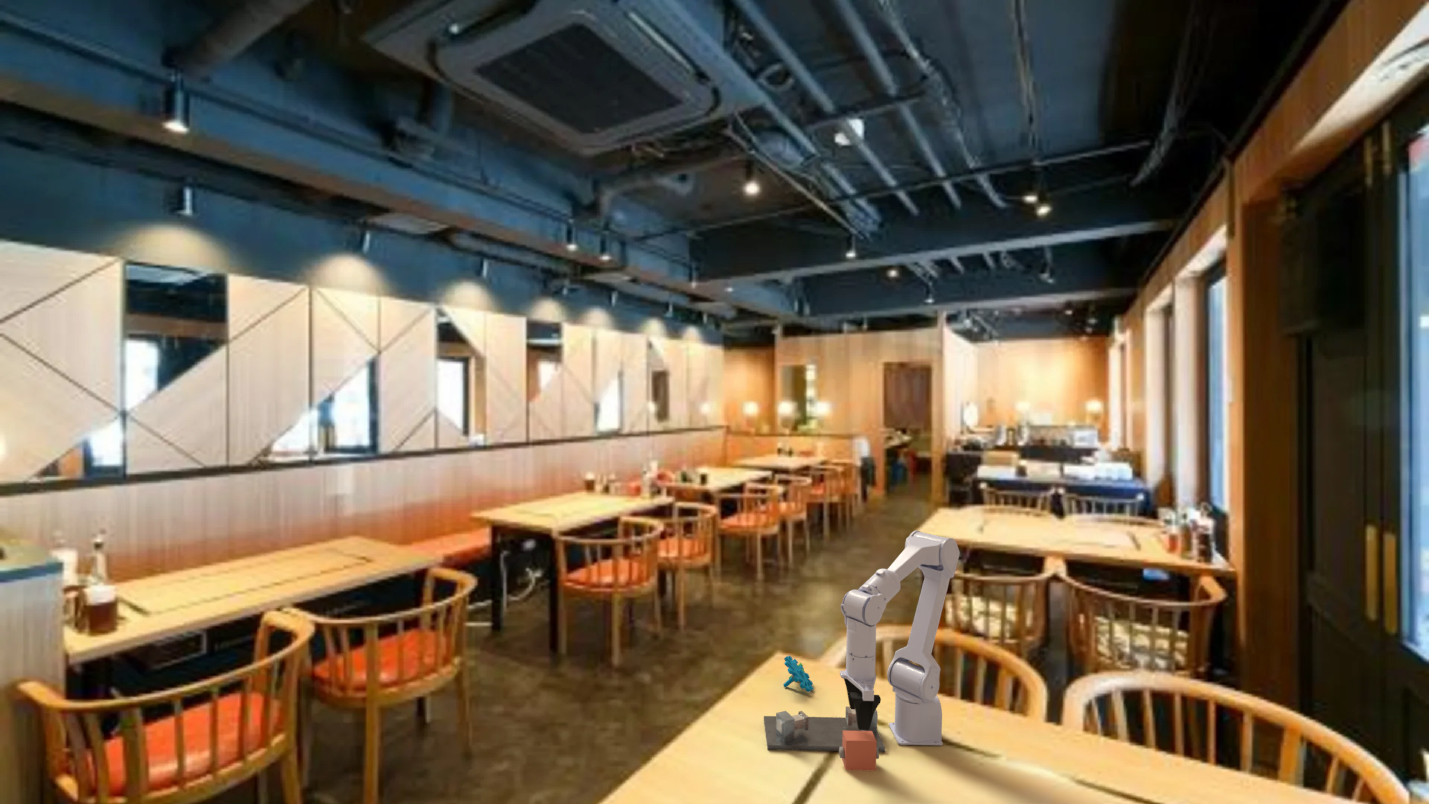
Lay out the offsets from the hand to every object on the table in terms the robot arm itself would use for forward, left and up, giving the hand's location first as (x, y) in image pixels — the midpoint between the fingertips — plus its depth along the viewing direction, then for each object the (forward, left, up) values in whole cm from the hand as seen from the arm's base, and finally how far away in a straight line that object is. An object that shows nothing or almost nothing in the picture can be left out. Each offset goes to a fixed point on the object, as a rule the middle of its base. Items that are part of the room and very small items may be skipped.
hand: (859, 718), depth 126 cm
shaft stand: (+6, -10, -9) cm, 15 cm away
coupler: (0, 0, -10) cm, 10 cm away
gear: (+8, -32, -10) cm, 34 cm away
